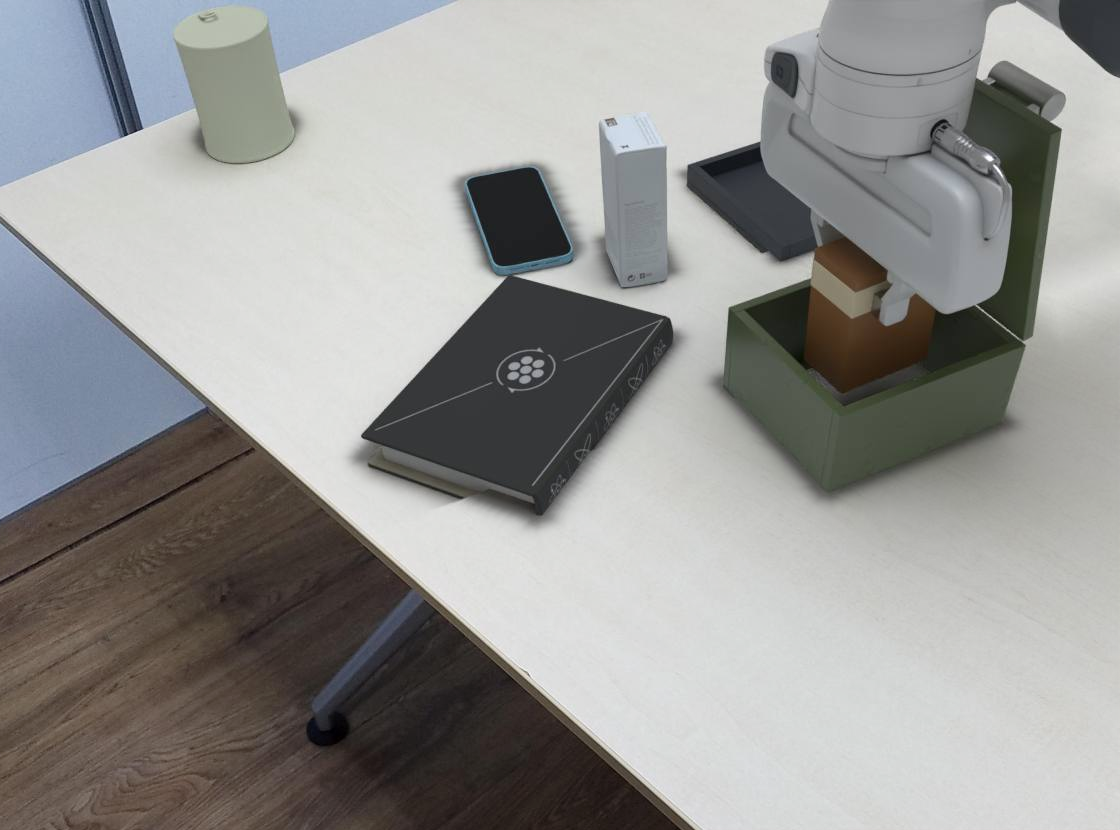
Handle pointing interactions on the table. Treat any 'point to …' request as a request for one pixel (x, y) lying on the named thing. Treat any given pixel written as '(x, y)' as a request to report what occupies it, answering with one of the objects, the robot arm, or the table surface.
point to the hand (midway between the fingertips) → (859, 294)
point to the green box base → (876, 421)
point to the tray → (754, 202)
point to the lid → (1019, 179)
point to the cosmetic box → (634, 198)
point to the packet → (858, 320)
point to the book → (519, 393)
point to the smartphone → (518, 220)
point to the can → (235, 83)
